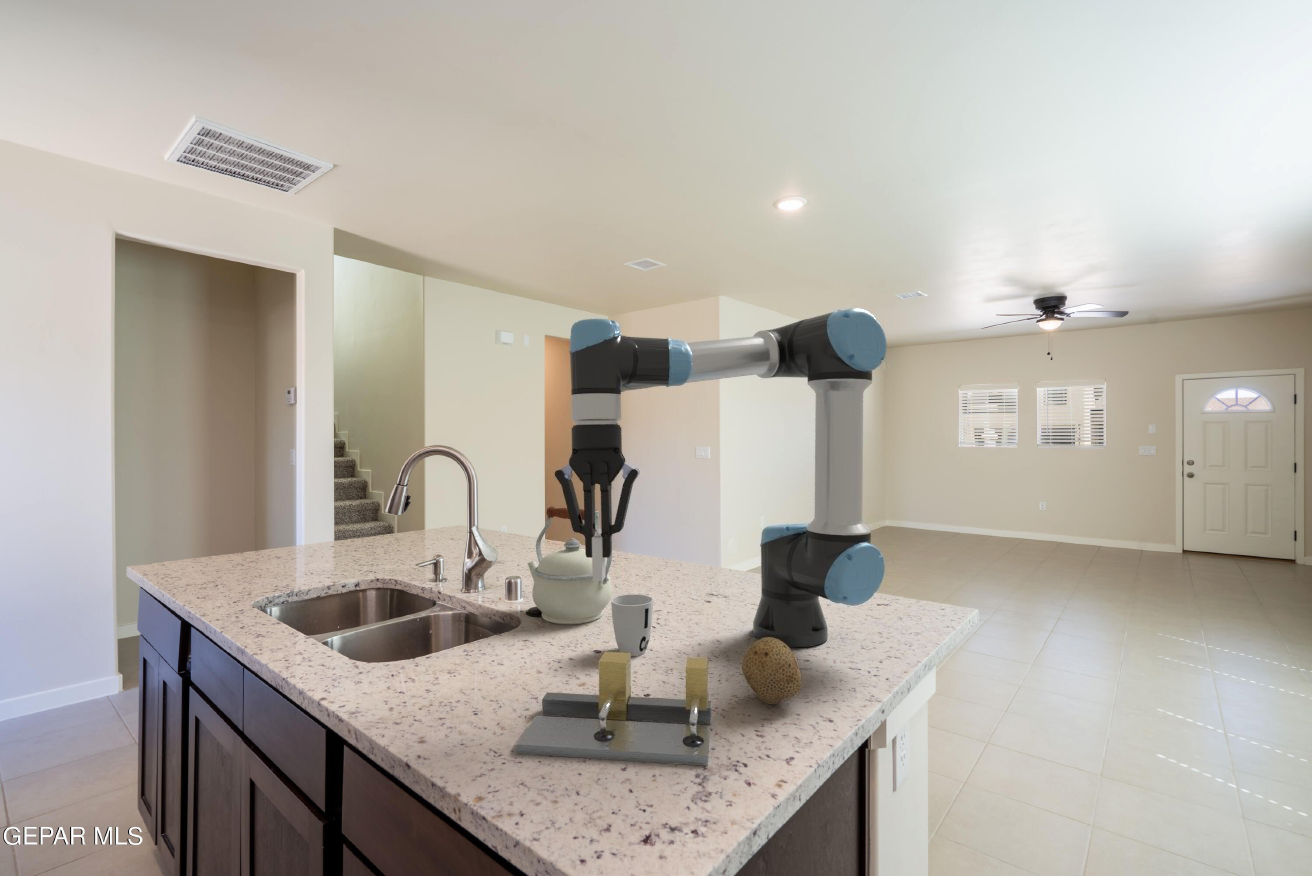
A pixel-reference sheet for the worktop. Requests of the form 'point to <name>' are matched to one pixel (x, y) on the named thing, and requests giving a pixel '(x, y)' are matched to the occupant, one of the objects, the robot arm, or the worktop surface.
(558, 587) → the kettle
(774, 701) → the natural sponge
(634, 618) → the cup
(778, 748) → the worktop surface
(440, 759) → the worktop surface
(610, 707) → the block
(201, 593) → the worktop surface
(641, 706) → the rail
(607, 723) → the bolt plate
